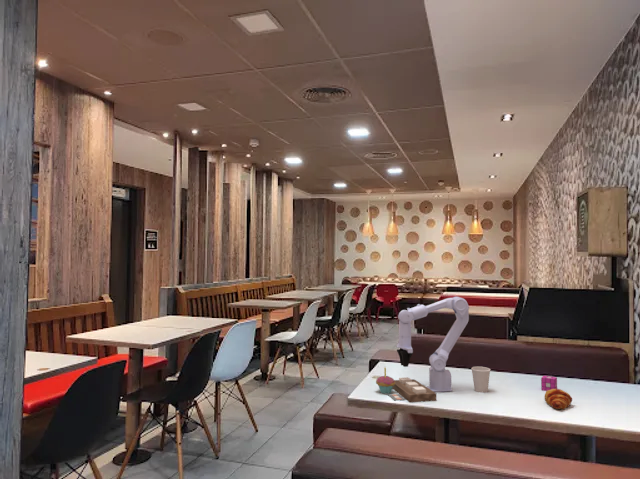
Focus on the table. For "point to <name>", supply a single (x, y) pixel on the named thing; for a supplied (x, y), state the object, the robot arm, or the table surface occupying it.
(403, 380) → the button
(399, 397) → the pattern card
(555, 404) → the croissant
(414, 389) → the button
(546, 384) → the puzzle toy
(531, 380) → the table surface
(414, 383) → the button middle
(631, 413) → the table surface
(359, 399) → the table surface
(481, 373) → the dixie cup
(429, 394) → the button board
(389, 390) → the cupcake
